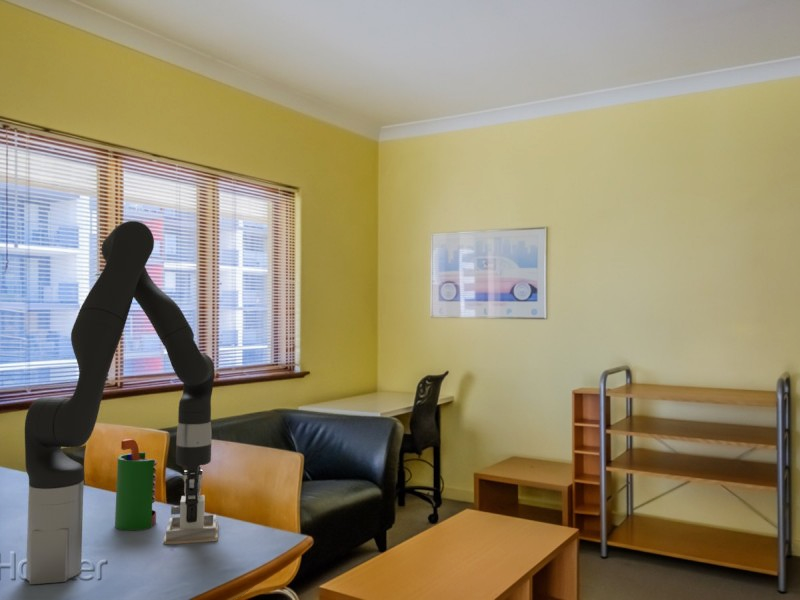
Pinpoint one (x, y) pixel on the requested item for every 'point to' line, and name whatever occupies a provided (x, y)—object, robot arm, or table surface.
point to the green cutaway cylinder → (135, 489)
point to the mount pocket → (191, 531)
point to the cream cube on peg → (183, 511)
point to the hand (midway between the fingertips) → (192, 517)
